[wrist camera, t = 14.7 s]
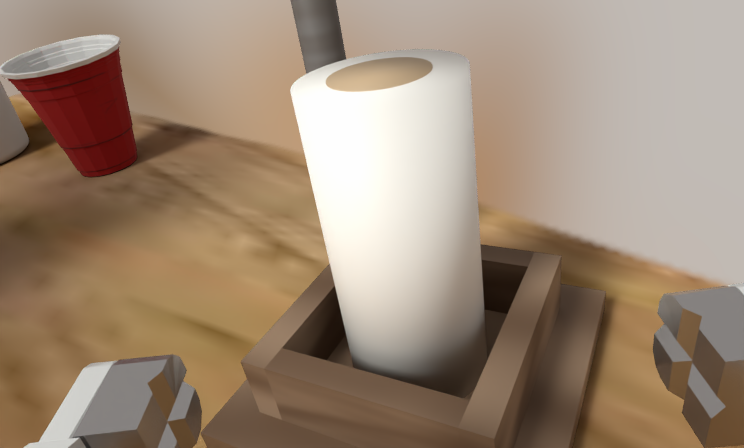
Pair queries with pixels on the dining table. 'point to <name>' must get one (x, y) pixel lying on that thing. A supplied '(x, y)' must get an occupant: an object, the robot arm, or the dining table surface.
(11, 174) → the dining table surface
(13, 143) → the cylinder vase
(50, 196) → the dining table surface
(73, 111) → the plastic cup
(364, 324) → the paper roll
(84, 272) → the dining table surface
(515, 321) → the roll holder
